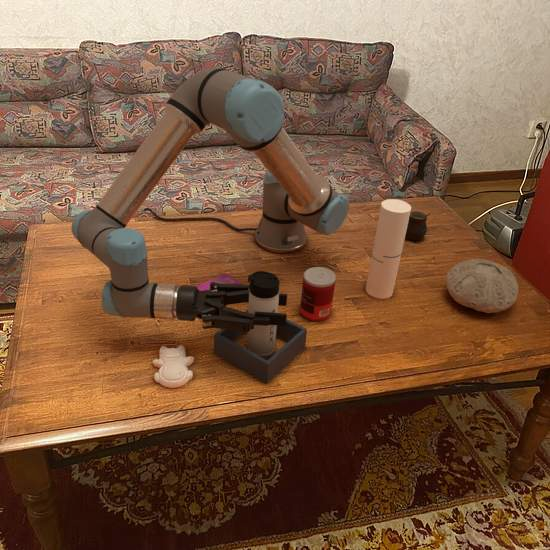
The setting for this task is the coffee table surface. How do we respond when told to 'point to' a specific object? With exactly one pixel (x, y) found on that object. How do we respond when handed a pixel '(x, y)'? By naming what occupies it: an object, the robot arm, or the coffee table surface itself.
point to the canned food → (317, 293)
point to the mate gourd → (416, 225)
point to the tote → (255, 363)
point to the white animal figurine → (173, 367)
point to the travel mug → (263, 300)
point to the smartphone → (218, 281)
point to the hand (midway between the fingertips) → (286, 309)
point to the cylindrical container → (387, 247)
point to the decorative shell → (482, 285)
